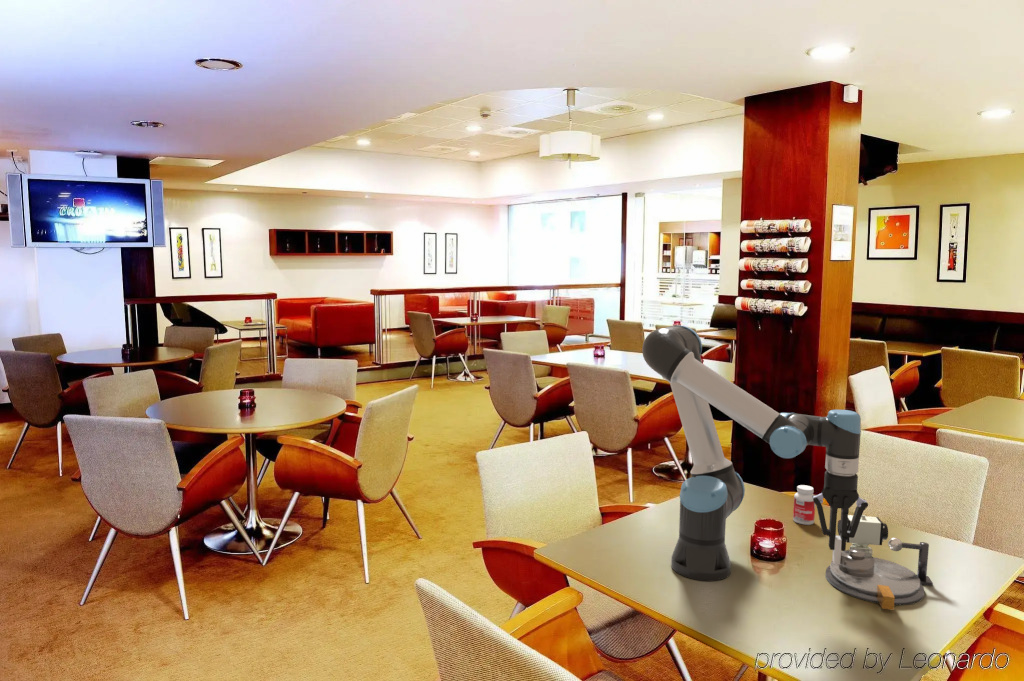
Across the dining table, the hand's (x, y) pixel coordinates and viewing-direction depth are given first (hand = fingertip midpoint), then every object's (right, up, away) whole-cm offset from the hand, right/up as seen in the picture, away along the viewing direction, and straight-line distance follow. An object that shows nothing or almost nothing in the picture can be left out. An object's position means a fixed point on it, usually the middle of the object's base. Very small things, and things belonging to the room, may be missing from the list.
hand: (836, 561), depth 176 cm
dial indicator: (+18, -5, 0) cm, 19 cm away
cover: (+5, -2, -1) cm, 5 cm away
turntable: (+8, -4, -5) cm, 10 cm away
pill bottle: (+8, 0, +40) cm, 41 cm away
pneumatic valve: (+13, -3, +14) cm, 20 cm away
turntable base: (+9, -5, -2) cm, 10 cm away
